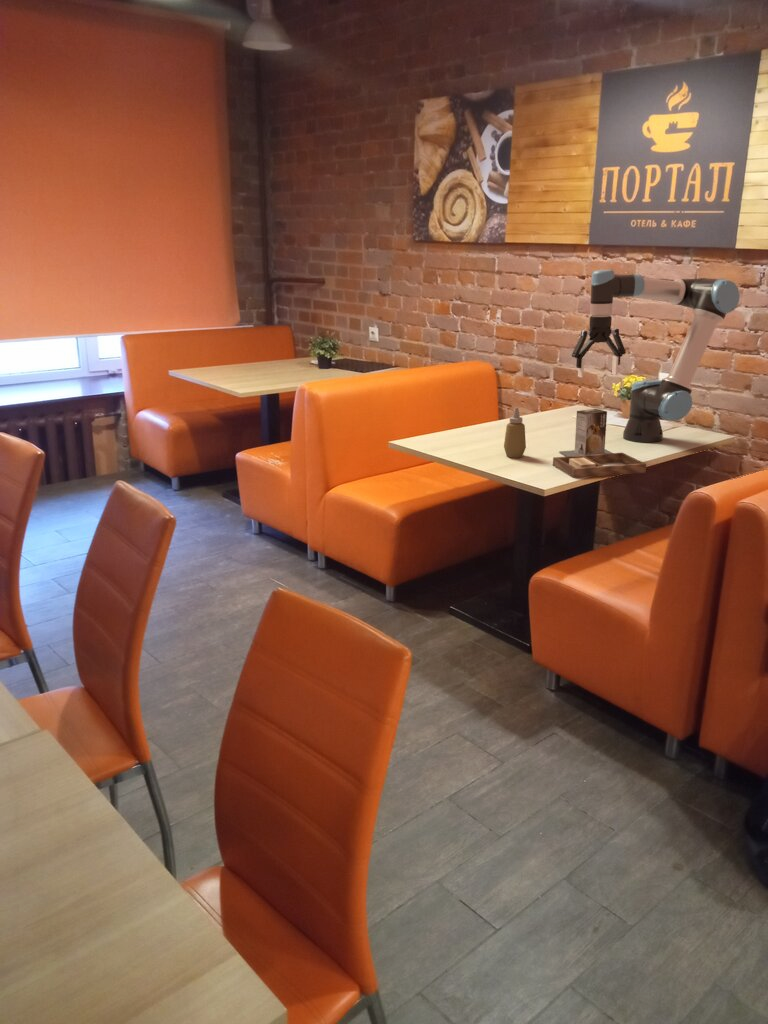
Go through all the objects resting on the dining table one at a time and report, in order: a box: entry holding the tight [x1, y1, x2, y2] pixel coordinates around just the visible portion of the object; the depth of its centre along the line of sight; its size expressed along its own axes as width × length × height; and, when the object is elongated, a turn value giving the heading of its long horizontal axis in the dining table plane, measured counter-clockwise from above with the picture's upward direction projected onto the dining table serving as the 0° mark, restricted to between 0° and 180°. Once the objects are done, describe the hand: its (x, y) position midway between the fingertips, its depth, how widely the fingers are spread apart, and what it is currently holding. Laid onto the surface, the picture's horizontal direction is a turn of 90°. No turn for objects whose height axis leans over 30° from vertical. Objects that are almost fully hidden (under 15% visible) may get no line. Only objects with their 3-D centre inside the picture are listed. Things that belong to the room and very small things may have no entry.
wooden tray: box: [552, 452, 647, 479], centre depth 284 cm, size 27×16×3 cm, turn 103°
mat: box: [559, 448, 613, 457], centre depth 302 cm, size 18×13×1 cm
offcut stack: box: [569, 458, 596, 468], centre depth 282 cm, size 6×10×4 cm, turn 13°
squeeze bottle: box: [503, 407, 527, 459], centre depth 299 cm, size 8×8×18 cm
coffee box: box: [574, 408, 608, 455], centre depth 299 cm, size 9×6×16 cm
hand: (597, 375), depth 297 cm, fingers open, 13 cm apart
